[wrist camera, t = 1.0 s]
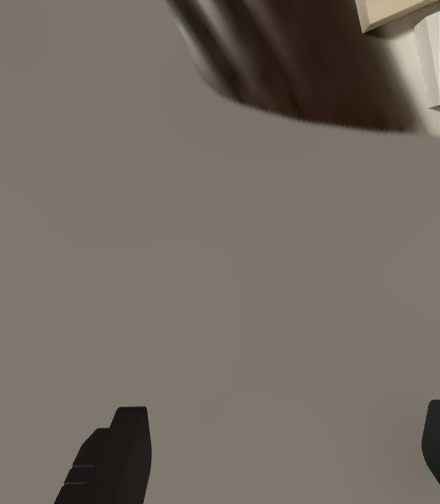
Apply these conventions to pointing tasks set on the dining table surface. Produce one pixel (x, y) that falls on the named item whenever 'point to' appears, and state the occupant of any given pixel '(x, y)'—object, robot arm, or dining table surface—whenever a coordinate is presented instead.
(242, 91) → the dining table surface
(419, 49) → the rest post
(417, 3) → the tall stand
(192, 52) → the dining table surface
